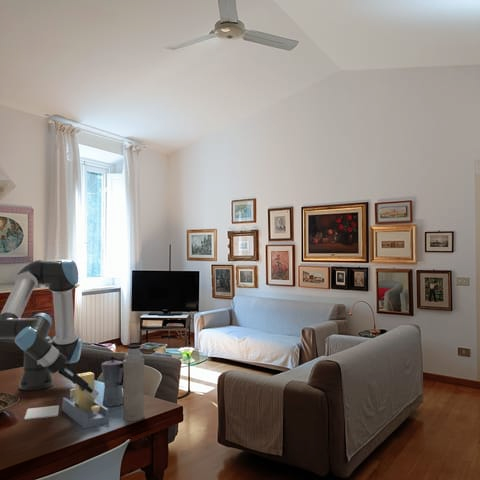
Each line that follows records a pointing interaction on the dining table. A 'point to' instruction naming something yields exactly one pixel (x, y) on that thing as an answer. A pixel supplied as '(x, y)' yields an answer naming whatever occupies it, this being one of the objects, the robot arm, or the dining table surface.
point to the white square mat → (42, 412)
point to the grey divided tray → (86, 413)
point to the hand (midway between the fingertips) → (94, 394)
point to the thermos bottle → (133, 384)
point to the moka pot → (112, 382)
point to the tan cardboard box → (84, 393)
